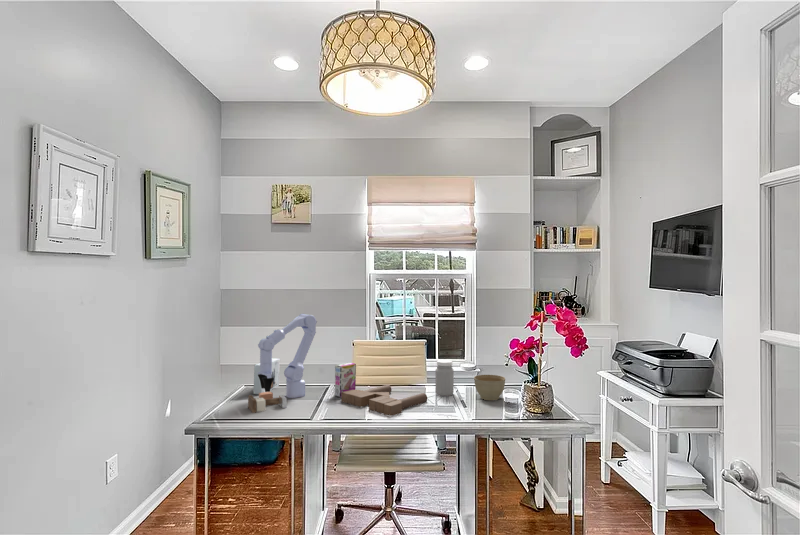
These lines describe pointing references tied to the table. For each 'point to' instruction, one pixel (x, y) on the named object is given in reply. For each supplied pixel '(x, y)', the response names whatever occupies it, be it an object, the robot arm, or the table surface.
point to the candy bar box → (345, 378)
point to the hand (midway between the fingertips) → (265, 389)
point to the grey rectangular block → (283, 401)
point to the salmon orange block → (266, 395)
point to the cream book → (260, 404)
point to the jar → (444, 378)
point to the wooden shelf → (253, 402)
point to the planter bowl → (489, 386)
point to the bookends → (381, 400)
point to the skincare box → (275, 374)
